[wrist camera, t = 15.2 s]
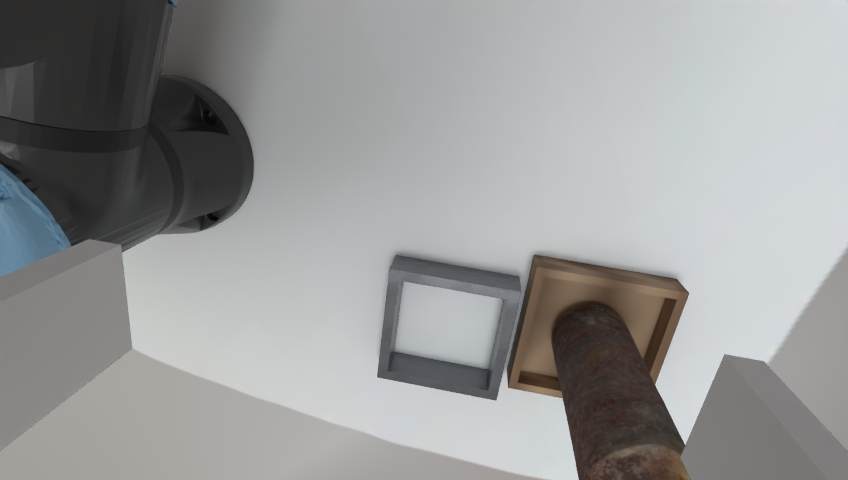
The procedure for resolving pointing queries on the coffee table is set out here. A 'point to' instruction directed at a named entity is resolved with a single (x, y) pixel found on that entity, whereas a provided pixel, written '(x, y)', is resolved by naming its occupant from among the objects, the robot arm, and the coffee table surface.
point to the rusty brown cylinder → (612, 401)
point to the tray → (587, 285)
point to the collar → (440, 371)
